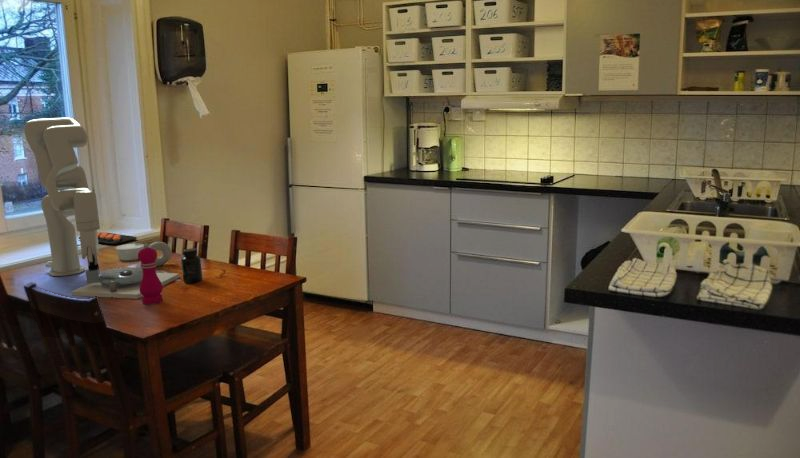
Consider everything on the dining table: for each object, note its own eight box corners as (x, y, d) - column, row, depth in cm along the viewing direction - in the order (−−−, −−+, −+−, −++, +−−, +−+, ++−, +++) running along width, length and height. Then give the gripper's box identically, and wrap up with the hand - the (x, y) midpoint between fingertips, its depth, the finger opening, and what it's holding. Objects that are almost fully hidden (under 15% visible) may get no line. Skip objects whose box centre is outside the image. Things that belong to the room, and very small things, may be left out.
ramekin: (151, 256, 283) (149, 244, 281) (128, 262, 273) (126, 250, 272) (134, 254, 288) (133, 242, 287) (111, 259, 279) (110, 247, 278)
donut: (148, 268, 263) (145, 244, 260) (145, 267, 265) (143, 242, 263) (173, 264, 268) (171, 240, 266) (170, 262, 271) (168, 239, 269)
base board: (71, 295, 230) (70, 287, 229) (119, 275, 254) (118, 268, 254) (137, 298, 224) (136, 290, 223) (179, 277, 248) (178, 270, 248)
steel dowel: (109, 292, 227) (107, 282, 226) (112, 290, 229) (111, 280, 228) (114, 292, 227) (112, 282, 226) (117, 290, 229) (116, 280, 228)
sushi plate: (140, 241, 316) (139, 233, 315) (81, 254, 291) (80, 246, 290) (103, 235, 331) (102, 228, 330) (44, 248, 307) (43, 240, 306)
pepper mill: (144, 298, 223) (138, 241, 219) (166, 297, 224) (160, 240, 220) (138, 305, 216) (131, 246, 212) (160, 304, 217) (154, 245, 213)
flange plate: (152, 269, 250) (151, 257, 249) (153, 281, 233) (152, 269, 232) (89, 276, 242) (87, 264, 241) (85, 289, 226) (83, 277, 225)
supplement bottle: (206, 279, 245) (203, 248, 242) (195, 284, 239) (192, 252, 236) (190, 278, 247) (187, 247, 245) (179, 283, 241) (176, 251, 238)
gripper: (79, 222, 239) (85, 271, 243) (73, 230, 226) (80, 282, 229) (101, 220, 242) (107, 269, 246) (97, 228, 228) (103, 279, 232)
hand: (94, 275), depth 237 cm, fingers closed
